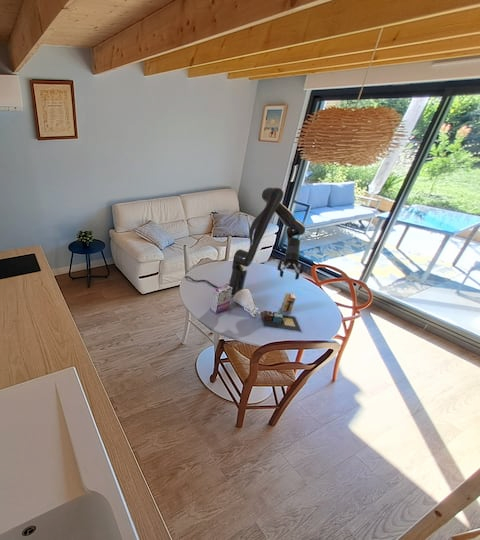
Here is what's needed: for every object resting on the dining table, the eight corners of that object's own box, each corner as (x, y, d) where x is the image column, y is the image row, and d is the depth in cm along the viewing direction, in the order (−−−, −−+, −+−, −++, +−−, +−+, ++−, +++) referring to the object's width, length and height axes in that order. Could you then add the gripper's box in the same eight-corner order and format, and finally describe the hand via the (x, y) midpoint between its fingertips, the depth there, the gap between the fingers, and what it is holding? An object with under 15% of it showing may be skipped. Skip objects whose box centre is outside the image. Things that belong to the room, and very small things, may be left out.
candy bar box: (223, 304, 189) (227, 284, 181) (228, 308, 185) (233, 287, 177) (210, 309, 185) (214, 288, 177) (215, 313, 181) (220, 292, 173)
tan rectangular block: (282, 312, 181) (287, 297, 175) (280, 308, 185) (285, 293, 179) (290, 313, 180) (295, 298, 174) (288, 309, 184) (293, 294, 178)
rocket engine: (263, 306, 171) (246, 286, 184) (246, 317, 174) (230, 296, 187) (268, 314, 178) (251, 293, 191) (252, 324, 181) (236, 303, 194)
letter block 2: (272, 322, 173) (274, 316, 171) (271, 317, 177) (273, 311, 174) (280, 323, 172) (283, 317, 170) (279, 318, 176) (281, 312, 173)
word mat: (264, 326, 170) (264, 326, 170) (260, 312, 182) (260, 311, 181) (301, 332, 165) (301, 331, 165) (294, 317, 177) (294, 316, 177)
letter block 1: (263, 320, 174) (264, 314, 172) (261, 316, 178) (263, 310, 176) (271, 321, 173) (273, 315, 171) (269, 317, 177) (271, 311, 175)
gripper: (302, 257, 186) (299, 281, 184) (278, 253, 190) (275, 277, 188) (306, 254, 179) (303, 279, 177) (281, 250, 183) (278, 275, 181)
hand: (288, 278), depth 182 cm, fingers open, 8 cm apart
